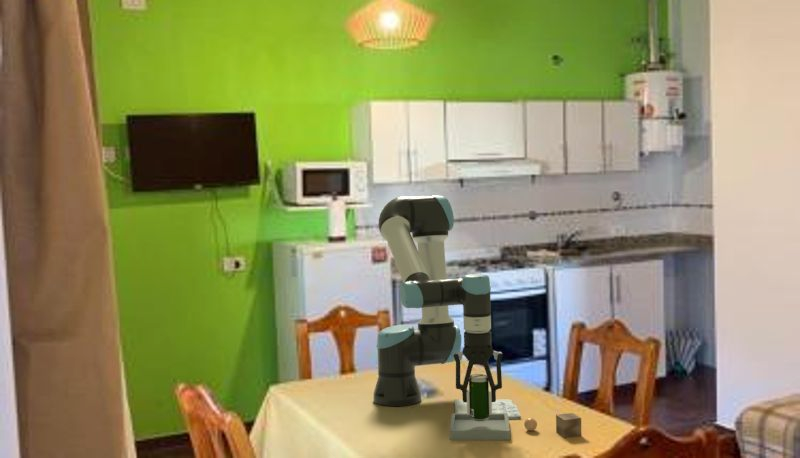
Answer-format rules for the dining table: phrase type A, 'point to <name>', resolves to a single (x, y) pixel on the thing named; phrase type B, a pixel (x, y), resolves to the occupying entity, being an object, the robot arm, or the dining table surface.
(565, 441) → the dining table surface
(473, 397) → the beer can
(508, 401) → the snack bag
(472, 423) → the dish
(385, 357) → the robot arm
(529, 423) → the terracotta ball
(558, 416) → the walnut block
